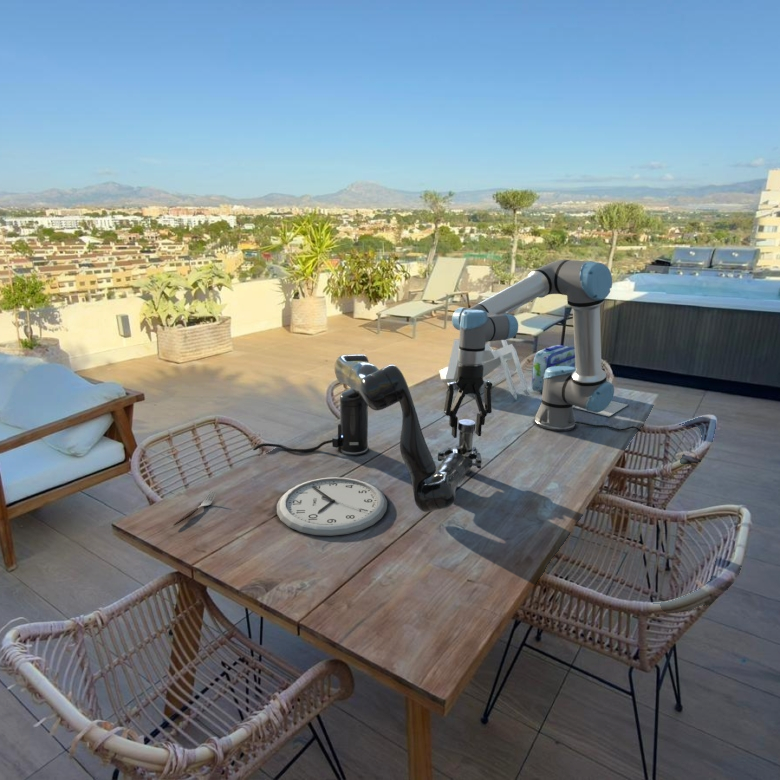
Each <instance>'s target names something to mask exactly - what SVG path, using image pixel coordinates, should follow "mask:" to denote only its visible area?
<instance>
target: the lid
mask: <svg viewBox="0 0 780 780" xmlns="http://www.w3.org/2000/svg"><path fill="white" fill-rule="evenodd" d="M457 430H458V431H459V432H460V431H462V432H473V433H474V432H476V421H474V420H472V419H460V420H458V424H457Z"/></svg>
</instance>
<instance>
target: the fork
mask: <svg viewBox="0 0 780 780" xmlns="http://www.w3.org/2000/svg"><path fill="white" fill-rule="evenodd" d="M217 494H218V492H214V491H212V490H210V491H209V493H208V494H207V496H206V497H205V499H204V500H203V501H202V502H201V504H200V505H199V506H198V507H195V508H194V509H192V510H191V511H189V512H187V513H186V514H184V515H183V516H182V517H181V518H179V519H178V520H177V521H176V522H175V523H174V524H173V526H176V525H178V524H180V523H181V522H182V521H184V520H186V519H188V518H190V517H191V516H192V515H194V514H195V513H197V511H198V510H199V509H200V508H202V507H209V506H210V505H211V504H212V503H213V502H214V500H215V498H216V496H217Z"/></svg>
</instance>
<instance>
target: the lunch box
mask: <svg viewBox="0 0 780 780" xmlns="http://www.w3.org/2000/svg"><path fill="white" fill-rule="evenodd" d="M532 362H533V363H532V372H531V374H532V375H531V390H532V391H536V392H538V393H539V392H540V393H542V391H543V380H544V379H543V378H544V375H545V370H546V369H547V368H549V367H555V366H570V367H575V368H576V363H575V346H567V345H566V346H565V345H562V344H556V345H551V346H549V347H545V348H543V349H541V350H538V351H537V352H536V353H535V355H534V358H533V361H532Z"/></svg>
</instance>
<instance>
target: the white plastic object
mask: <svg viewBox="0 0 780 780" xmlns="http://www.w3.org/2000/svg"><path fill="white" fill-rule="evenodd" d="M507 340H508V339H506V340H500V342H501V345H502V347H500V348H498V349H496V350H495V349H493V348H492V347H491V346H490V344H489V343H488V342H486V343H485V354H484V363H483V365H484V368H483V378H485V377H486V376H487V375H489V374H490V373H492V372H494V371H495V370H496V369H497V368H499V367H500V366H502V370H503V373H504V376H505V380H506V383H507V386H508V390H509V393H510V394H511V395H512V397H513V398H514V399H515V400H517V392H516V391H517V390H516V388H515V385H514V381H513V378H512V375H511V371H510V369H509V365H508V361H510V360H513V363H514V366H515V369H516V372H517V376H518V380H519V382H520V385H521V389H522V391H523V393H524V395H525V396H526V397H528V396H531V395H530V390H529V388H528V387H529V386H528V384H527V381H526V378H525V375H524V371H523V369H522V368H523V367H522V366H521V362H520V359H519V355H518V352H517V349H516V347H515V346H514V345H513V343H511V344H508V341H507ZM458 357H459V339H458V338H454V340H453V344H452V349H451V353H450V357H449V362H448V366H446V367H444V368H442V369H440V370H439V371H438V372H439V376H440V381H442V383H443V384H444V385H445V386H447V382H450V383H452V382H456V379H457V373H458V364H459V363H460V362H459V361H458Z"/></svg>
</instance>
